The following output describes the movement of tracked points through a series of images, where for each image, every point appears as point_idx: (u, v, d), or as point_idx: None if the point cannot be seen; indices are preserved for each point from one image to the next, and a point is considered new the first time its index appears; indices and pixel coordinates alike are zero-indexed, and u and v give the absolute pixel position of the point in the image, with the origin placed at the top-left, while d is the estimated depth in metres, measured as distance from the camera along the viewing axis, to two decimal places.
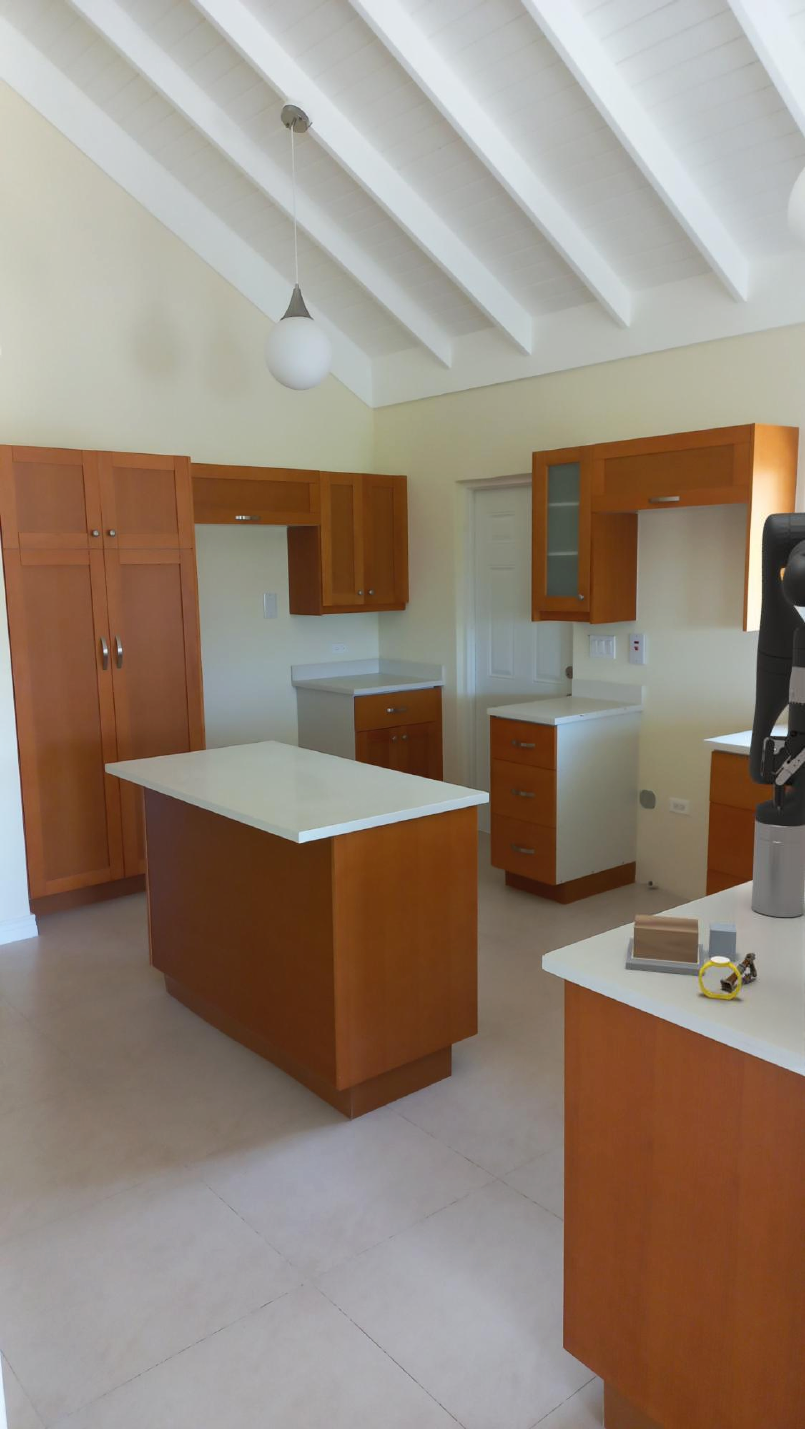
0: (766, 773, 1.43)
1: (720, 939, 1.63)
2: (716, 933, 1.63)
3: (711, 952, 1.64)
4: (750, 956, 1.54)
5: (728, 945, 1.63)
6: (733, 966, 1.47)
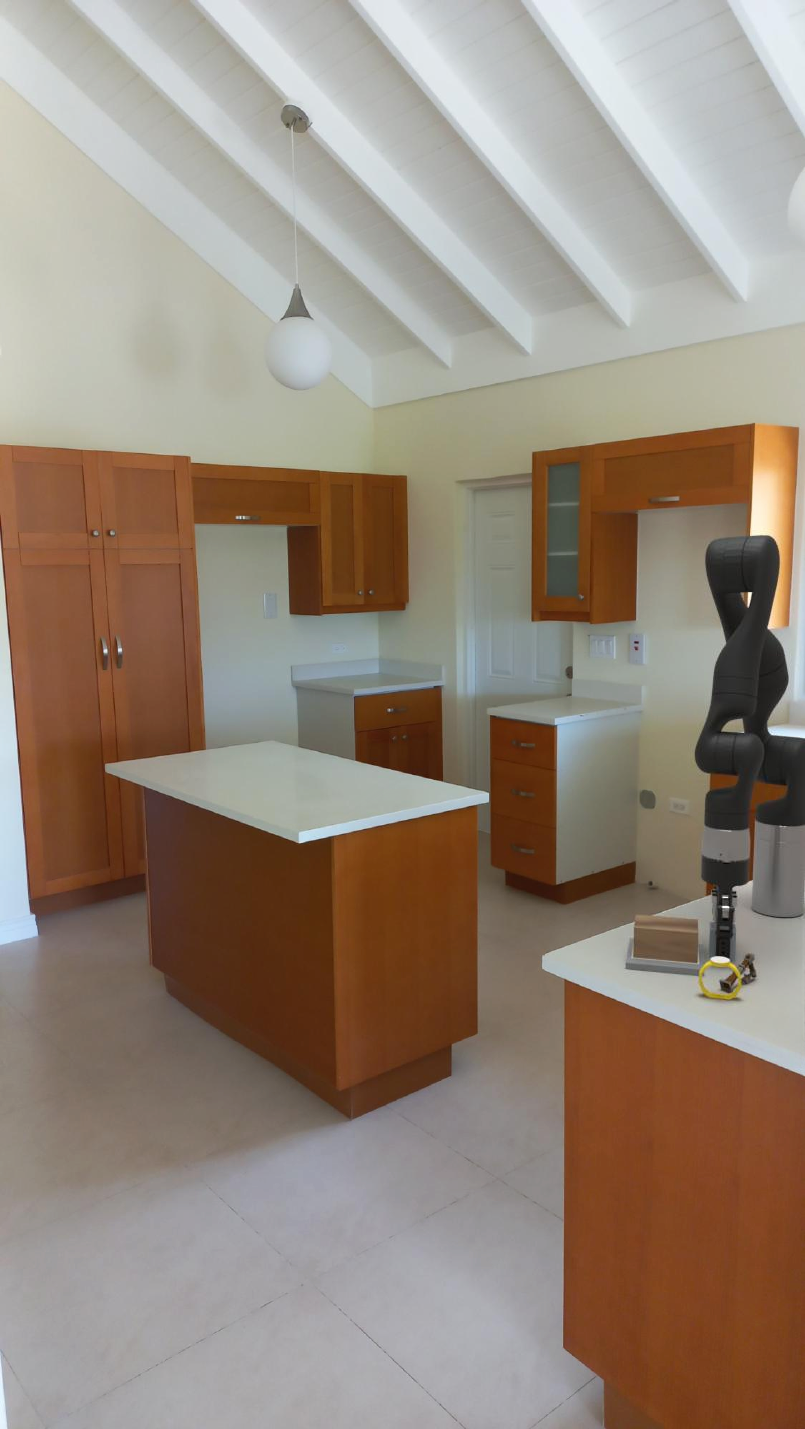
0: None
1: None
2: None
3: (711, 952, 1.64)
4: (749, 956, 1.54)
5: None
6: (733, 966, 1.47)
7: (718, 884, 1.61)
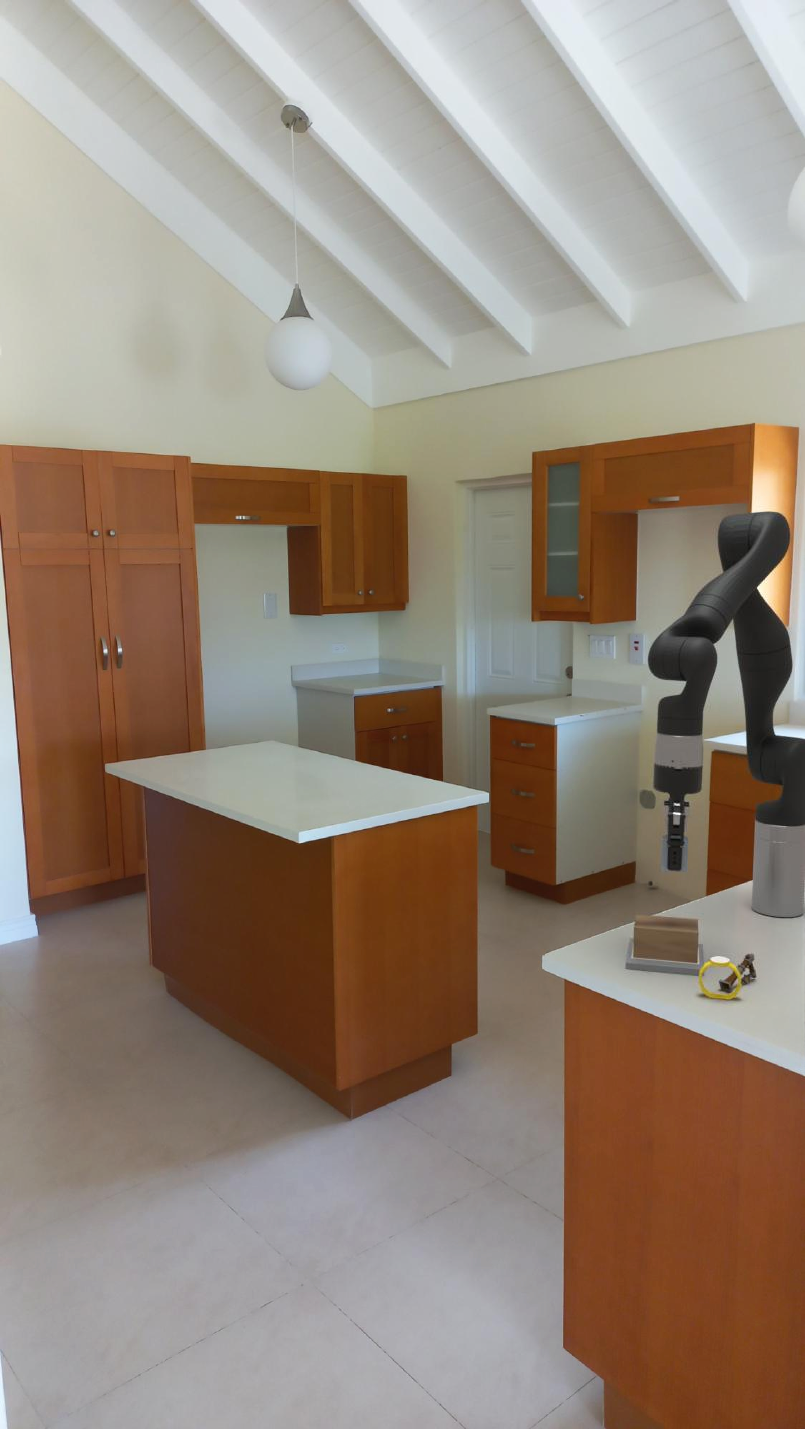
0: (683, 840, 1.56)
1: None
2: None
3: (663, 863, 1.60)
4: (749, 957, 1.54)
5: None
6: (733, 966, 1.47)
7: (670, 792, 1.57)
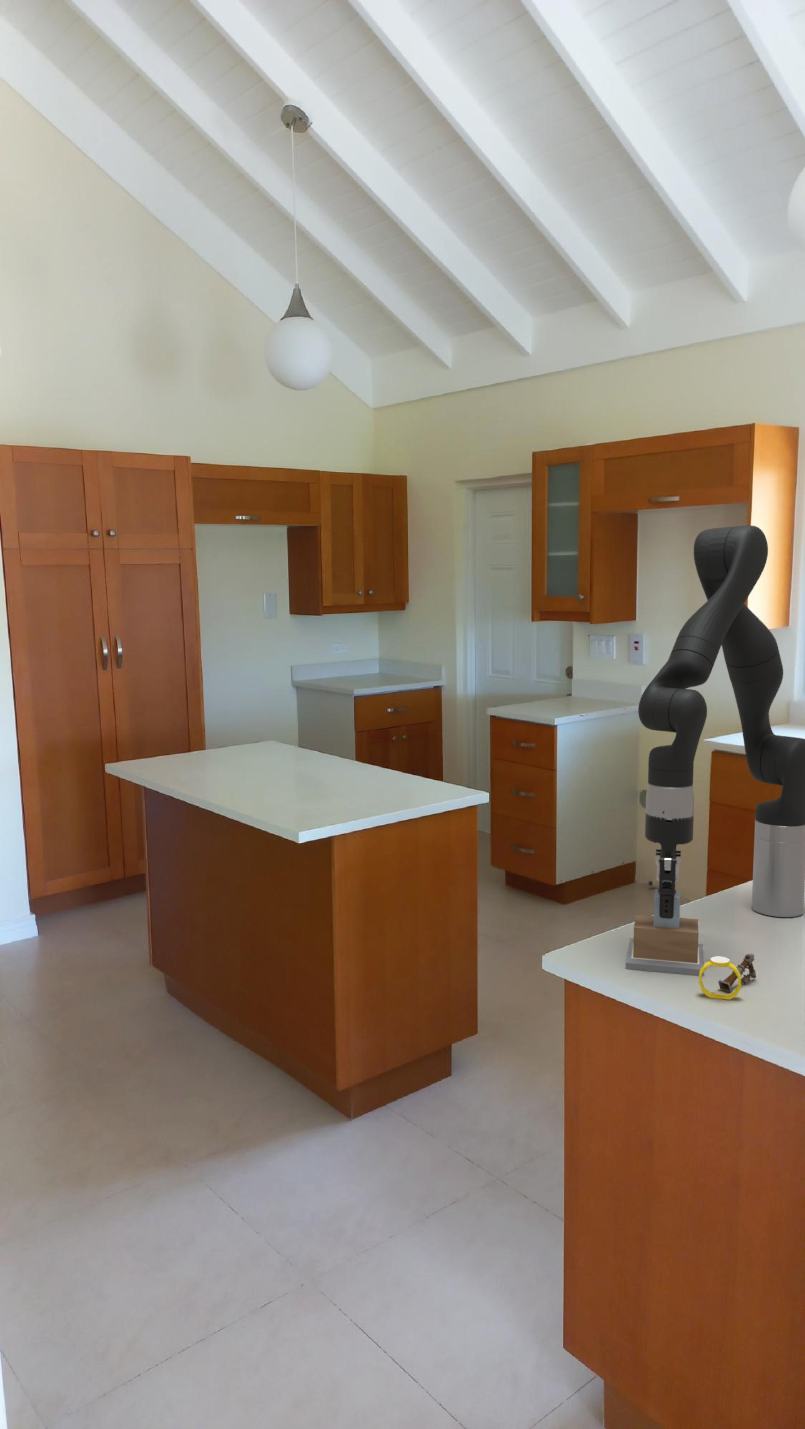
0: None
1: None
2: (659, 899, 1.61)
3: (655, 919, 1.62)
4: (749, 957, 1.53)
5: None
6: (733, 966, 1.47)
7: (661, 842, 1.59)
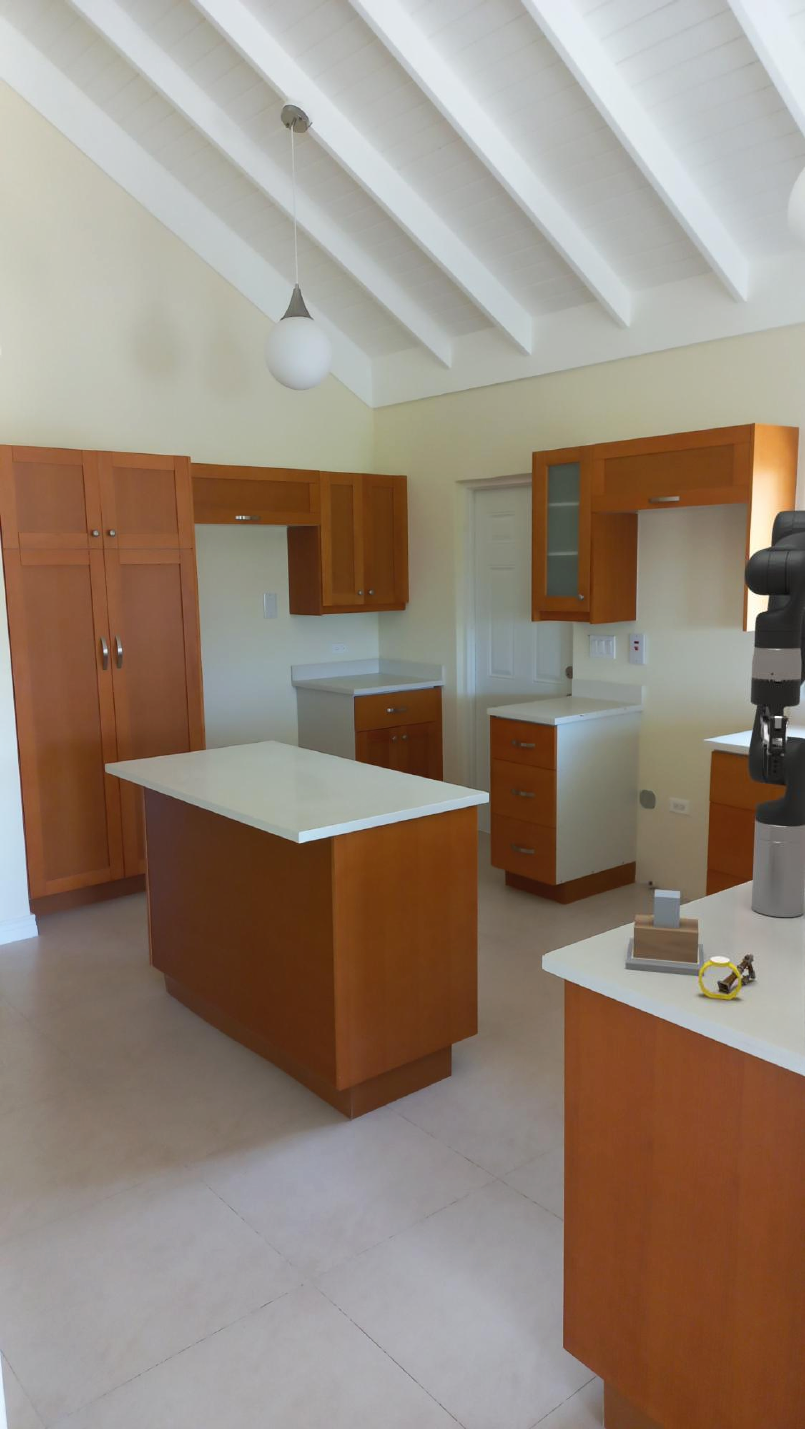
0: (785, 747, 1.57)
1: (663, 906, 1.61)
2: (659, 899, 1.61)
3: (655, 919, 1.62)
4: (748, 958, 1.53)
5: (671, 911, 1.61)
6: (733, 966, 1.47)
7: (769, 704, 1.59)
